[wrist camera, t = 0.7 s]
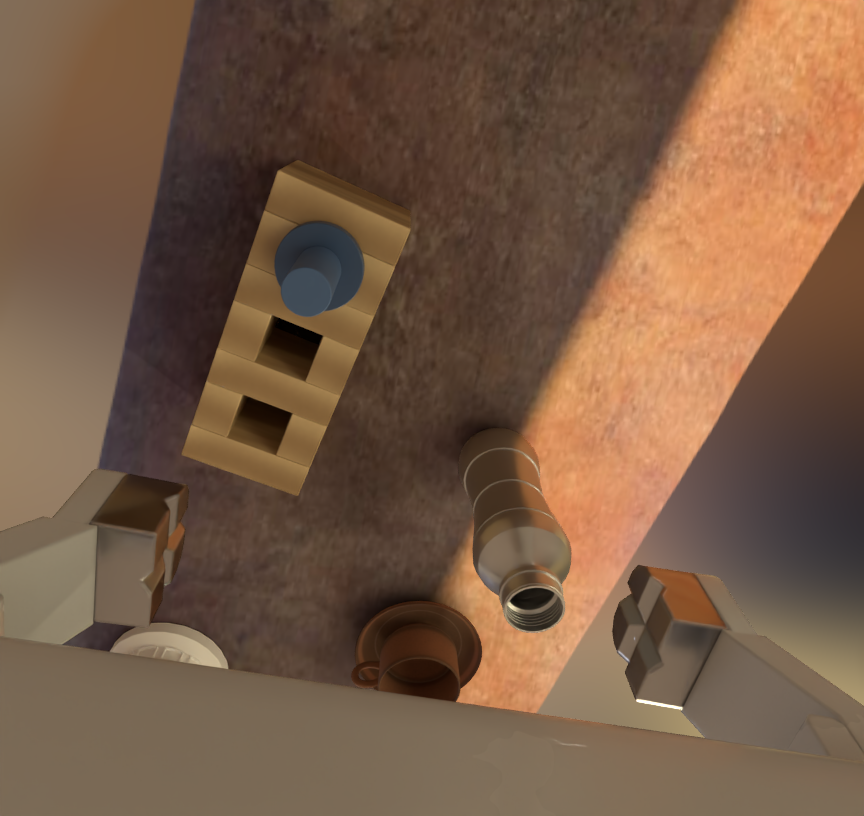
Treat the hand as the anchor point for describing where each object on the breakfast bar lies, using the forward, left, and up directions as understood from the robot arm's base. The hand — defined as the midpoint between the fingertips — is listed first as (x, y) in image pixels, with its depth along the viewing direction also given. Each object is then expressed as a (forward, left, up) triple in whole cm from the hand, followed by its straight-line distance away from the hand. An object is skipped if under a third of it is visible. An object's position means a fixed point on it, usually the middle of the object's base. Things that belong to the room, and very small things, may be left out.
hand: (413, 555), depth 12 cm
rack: (+11, -4, -42) cm, 44 cm away
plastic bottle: (+16, +15, -42) cm, 48 cm away
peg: (+4, -4, -40) cm, 41 cm away
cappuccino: (-3, +17, -42) cm, 45 cm away
